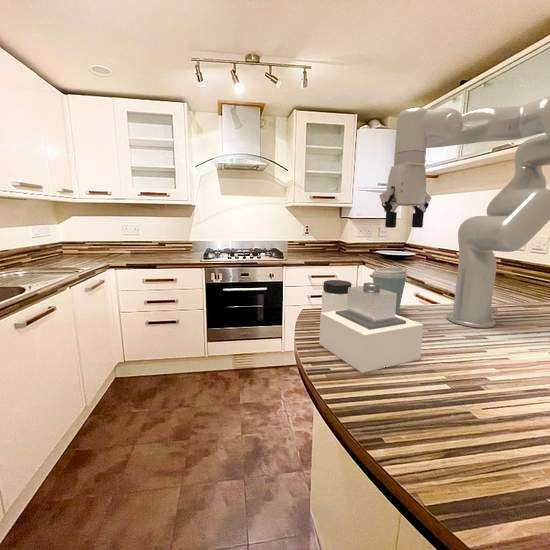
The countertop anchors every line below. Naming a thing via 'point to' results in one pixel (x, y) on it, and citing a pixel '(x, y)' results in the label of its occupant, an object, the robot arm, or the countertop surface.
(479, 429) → the countertop surface
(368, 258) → the countertop surface
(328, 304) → the jar
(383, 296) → the housing
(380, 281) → the disposable coffee cup
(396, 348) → the stand
